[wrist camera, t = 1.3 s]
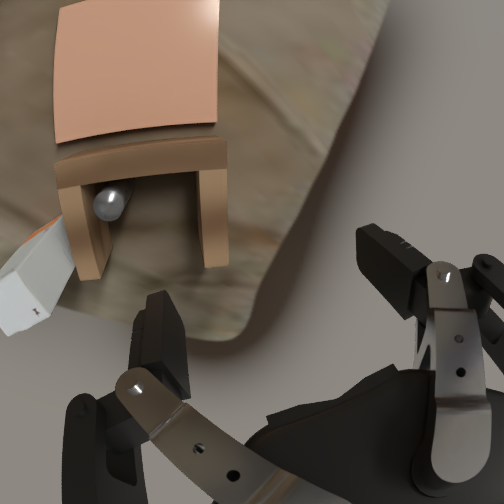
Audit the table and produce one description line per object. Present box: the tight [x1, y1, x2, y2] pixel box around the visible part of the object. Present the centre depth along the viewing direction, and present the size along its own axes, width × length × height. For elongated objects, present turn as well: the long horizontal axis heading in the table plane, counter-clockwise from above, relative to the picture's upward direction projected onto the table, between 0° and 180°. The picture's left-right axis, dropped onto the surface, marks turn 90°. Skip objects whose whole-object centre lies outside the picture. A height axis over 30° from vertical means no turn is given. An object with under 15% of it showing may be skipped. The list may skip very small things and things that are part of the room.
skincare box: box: [0, 214, 76, 337], centre depth 19 cm, size 6×4×12 cm
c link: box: [54, 136, 229, 281], centre depth 22 cm, size 10×13×6 cm
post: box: [93, 178, 134, 221], centre depth 21 cm, size 2×2×6 cm
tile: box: [53, 0, 219, 144], centre depth 18 cm, size 15×14×1 cm
